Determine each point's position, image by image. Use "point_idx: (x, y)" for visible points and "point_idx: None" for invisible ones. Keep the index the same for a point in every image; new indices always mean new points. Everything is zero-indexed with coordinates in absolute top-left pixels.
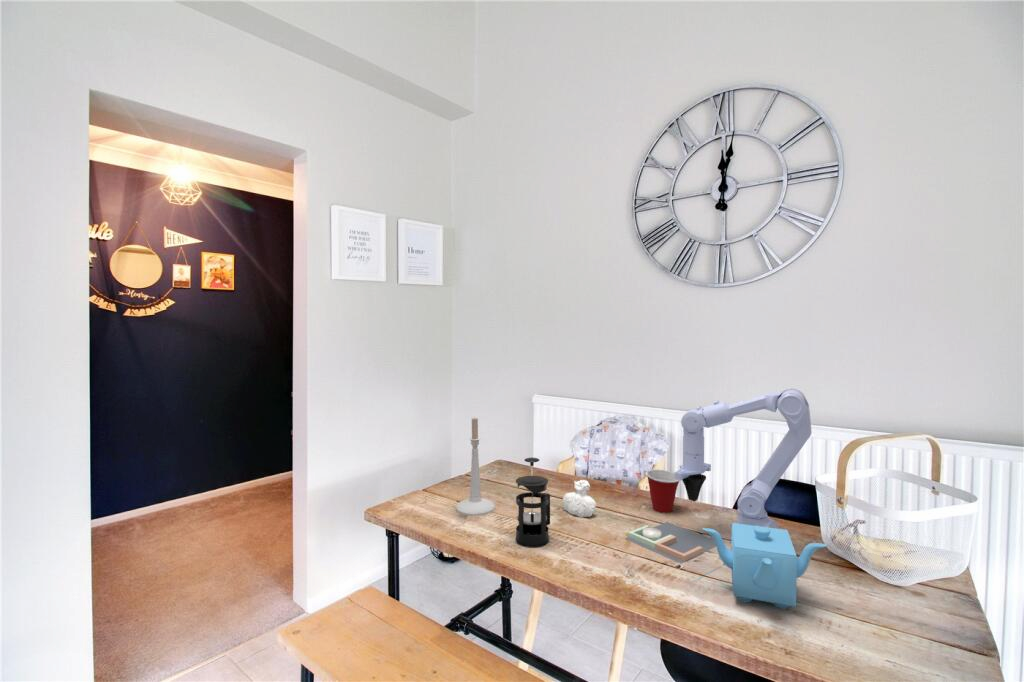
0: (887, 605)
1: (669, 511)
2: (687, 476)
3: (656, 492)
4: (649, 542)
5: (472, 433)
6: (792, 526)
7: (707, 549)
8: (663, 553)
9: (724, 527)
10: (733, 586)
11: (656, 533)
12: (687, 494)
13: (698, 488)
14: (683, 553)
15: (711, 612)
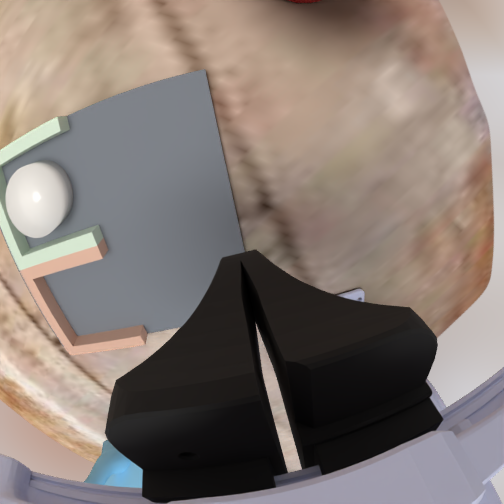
0: (298, 458)
1: (300, 1)
2: (148, 501)
3: None
4: (12, 249)
5: None
6: (477, 274)
7: (174, 325)
8: None
9: (378, 206)
10: (104, 450)
11: (37, 227)
12: (214, 275)
13: (278, 382)
14: (73, 346)
15: (67, 426)
